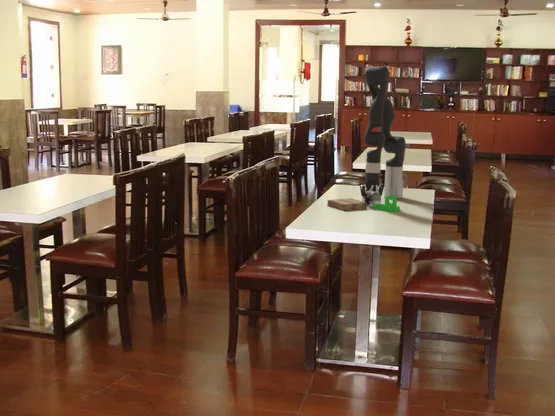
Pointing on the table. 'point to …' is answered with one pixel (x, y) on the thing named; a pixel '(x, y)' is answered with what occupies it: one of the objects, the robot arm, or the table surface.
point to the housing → (373, 199)
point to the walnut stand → (347, 204)
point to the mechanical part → (388, 204)
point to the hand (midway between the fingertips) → (371, 204)
